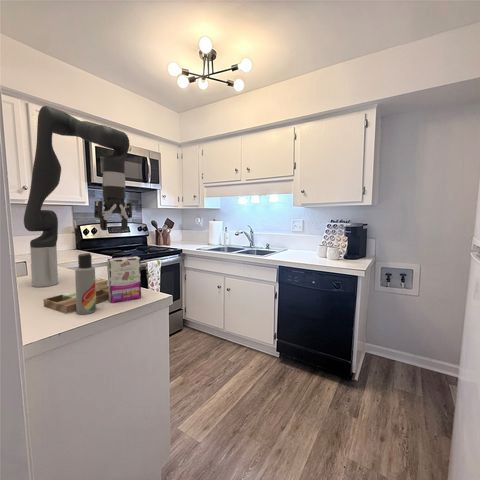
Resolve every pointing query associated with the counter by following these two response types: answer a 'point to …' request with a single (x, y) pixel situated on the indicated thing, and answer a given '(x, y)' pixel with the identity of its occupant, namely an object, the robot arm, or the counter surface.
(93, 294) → the lotion bottle
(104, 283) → the beech block
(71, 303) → the board
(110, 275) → the candy bar box
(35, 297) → the counter surface
